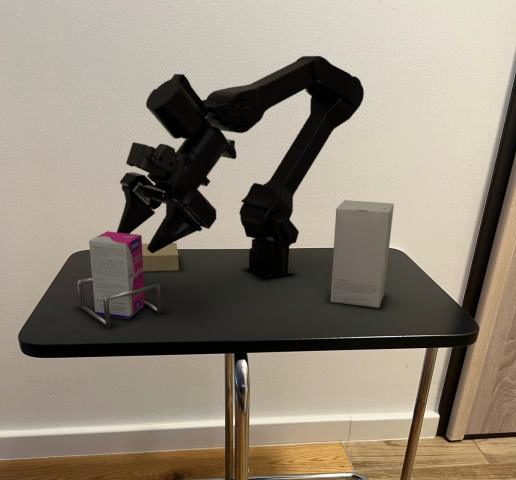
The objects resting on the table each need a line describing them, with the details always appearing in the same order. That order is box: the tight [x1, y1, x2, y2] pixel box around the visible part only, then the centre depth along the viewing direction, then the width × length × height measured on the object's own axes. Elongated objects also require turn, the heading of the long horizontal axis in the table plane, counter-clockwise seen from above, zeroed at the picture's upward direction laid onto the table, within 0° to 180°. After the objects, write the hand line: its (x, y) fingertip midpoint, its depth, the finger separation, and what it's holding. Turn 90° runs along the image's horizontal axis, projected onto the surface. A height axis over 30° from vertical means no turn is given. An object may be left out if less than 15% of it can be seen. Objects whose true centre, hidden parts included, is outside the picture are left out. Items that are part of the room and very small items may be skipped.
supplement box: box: [88, 230, 146, 320], centre depth 80 cm, size 6×6×12 cm
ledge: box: [142, 242, 180, 272], centre depth 102 cm, size 12×8×3 cm, turn 100°
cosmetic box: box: [330, 199, 395, 309], centre depth 86 cm, size 8×7×16 cm
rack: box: [76, 277, 163, 329], centre depth 82 cm, size 9×9×5 cm
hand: (133, 243), depth 80 cm, fingers open, 9 cm apart
